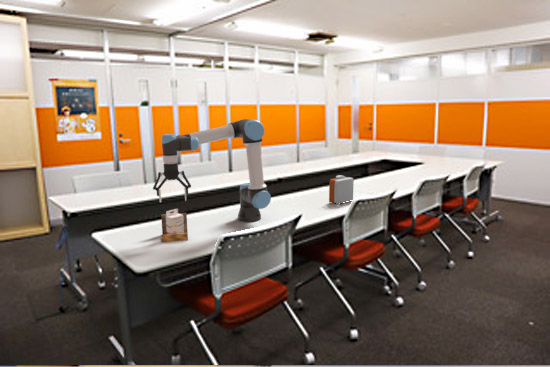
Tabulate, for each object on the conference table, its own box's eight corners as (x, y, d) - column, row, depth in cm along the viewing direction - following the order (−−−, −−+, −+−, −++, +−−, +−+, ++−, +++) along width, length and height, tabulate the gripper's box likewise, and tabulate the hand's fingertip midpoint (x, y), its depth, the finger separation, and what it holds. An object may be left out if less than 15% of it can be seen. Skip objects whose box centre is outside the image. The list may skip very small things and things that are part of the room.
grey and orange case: (344, 199, 307) (345, 173, 303) (353, 201, 301) (354, 175, 297) (328, 203, 296) (329, 176, 292) (337, 205, 289) (338, 178, 285)
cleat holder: (187, 232, 228) (186, 212, 226) (187, 240, 216) (186, 219, 213) (162, 234, 225) (161, 214, 223) (161, 242, 212) (160, 221, 210)
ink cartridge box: (172, 238, 215) (170, 212, 213) (166, 236, 219) (165, 211, 216) (184, 234, 222) (183, 209, 219) (179, 232, 225) (177, 208, 222)
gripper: (193, 160, 219) (195, 197, 223) (147, 163, 213) (150, 200, 217) (194, 162, 211) (196, 200, 216) (145, 165, 206) (149, 204, 210)
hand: (173, 201), depth 216 cm, fingers open, 13 cm apart
